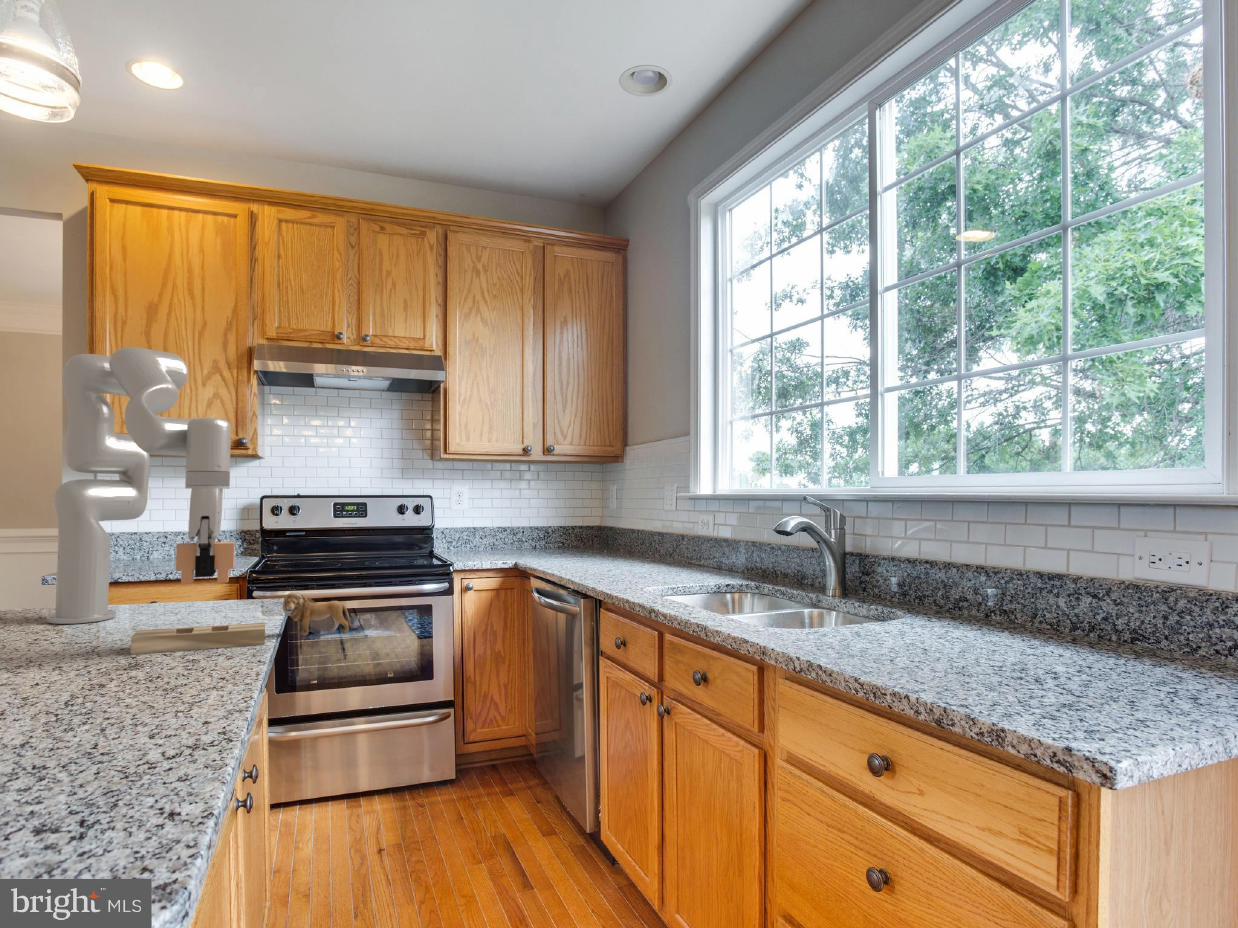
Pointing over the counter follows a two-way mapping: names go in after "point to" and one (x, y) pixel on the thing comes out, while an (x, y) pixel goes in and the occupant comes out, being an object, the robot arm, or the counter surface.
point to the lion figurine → (314, 612)
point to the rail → (197, 638)
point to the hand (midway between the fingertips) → (205, 574)
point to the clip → (189, 551)
